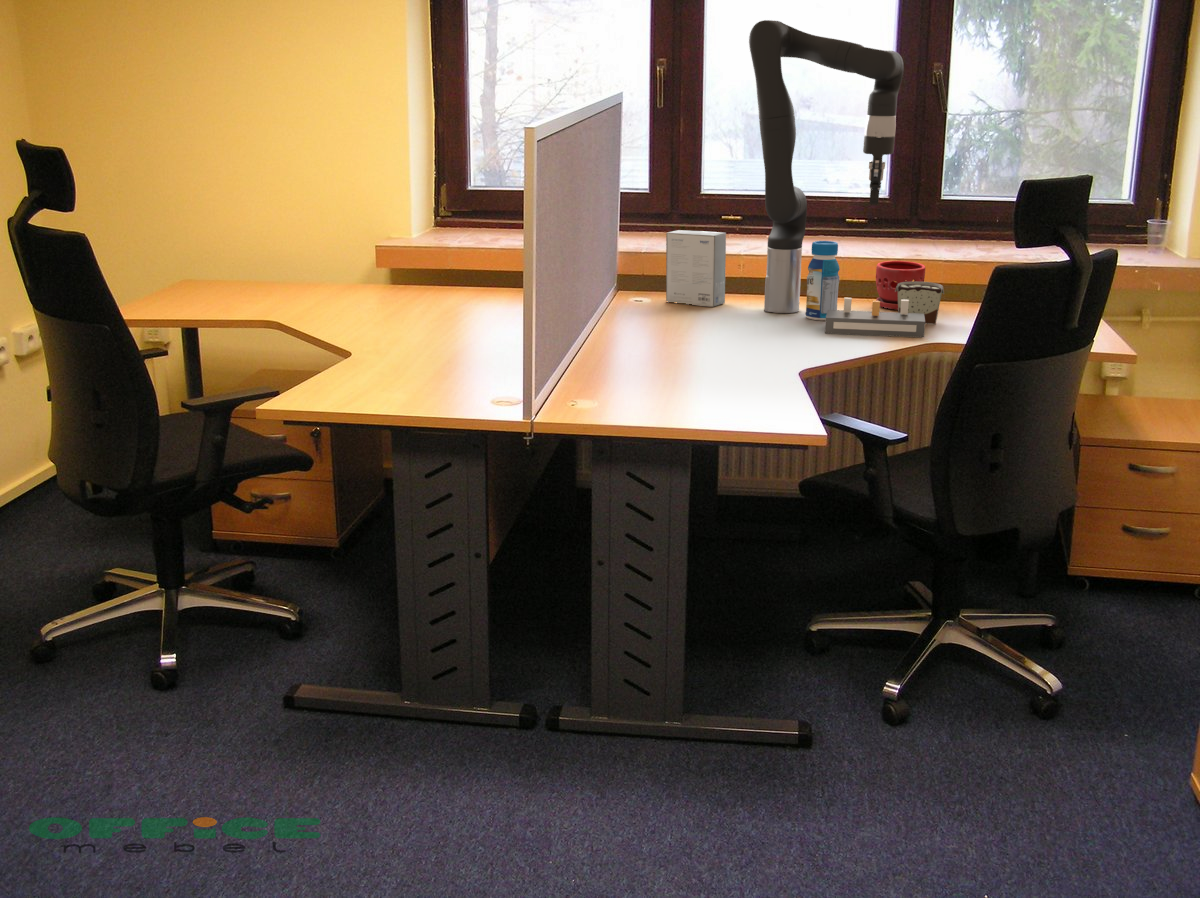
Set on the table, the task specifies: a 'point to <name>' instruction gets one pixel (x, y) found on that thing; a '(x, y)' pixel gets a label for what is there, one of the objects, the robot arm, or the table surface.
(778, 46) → the robot arm
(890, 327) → the breaker block
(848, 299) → the switch left
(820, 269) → the beverage bottle
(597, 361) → the table surface
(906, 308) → the switch right
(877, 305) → the switch mid
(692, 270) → the hard drive box
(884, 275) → the plant pot
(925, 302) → the food container
